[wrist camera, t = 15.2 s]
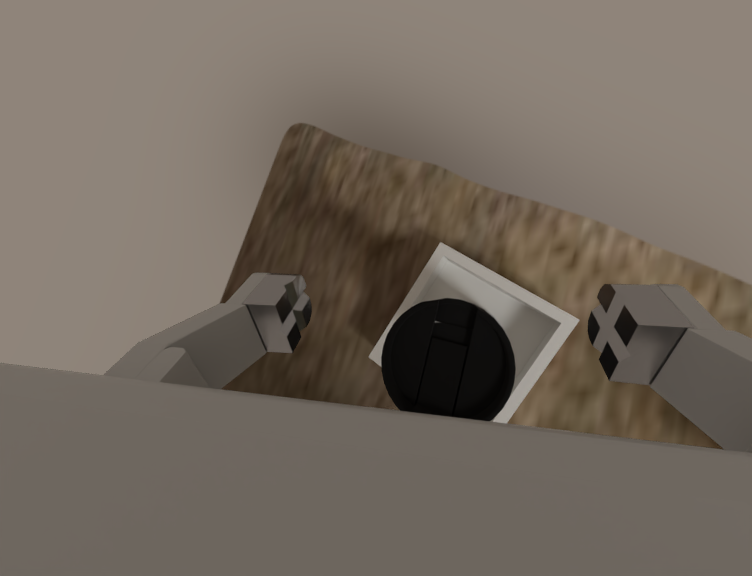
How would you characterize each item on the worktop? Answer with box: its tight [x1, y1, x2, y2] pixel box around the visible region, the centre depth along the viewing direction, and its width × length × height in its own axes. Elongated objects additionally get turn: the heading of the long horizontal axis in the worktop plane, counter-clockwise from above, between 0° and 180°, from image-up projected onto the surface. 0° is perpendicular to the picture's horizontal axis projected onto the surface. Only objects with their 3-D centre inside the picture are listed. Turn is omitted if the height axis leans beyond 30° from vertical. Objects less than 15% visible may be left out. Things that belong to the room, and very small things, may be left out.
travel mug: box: [381, 298, 516, 421], centre depth 24 cm, size 6×7×20 cm
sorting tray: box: [369, 242, 579, 423], centre depth 32 cm, size 14×14×4 cm
